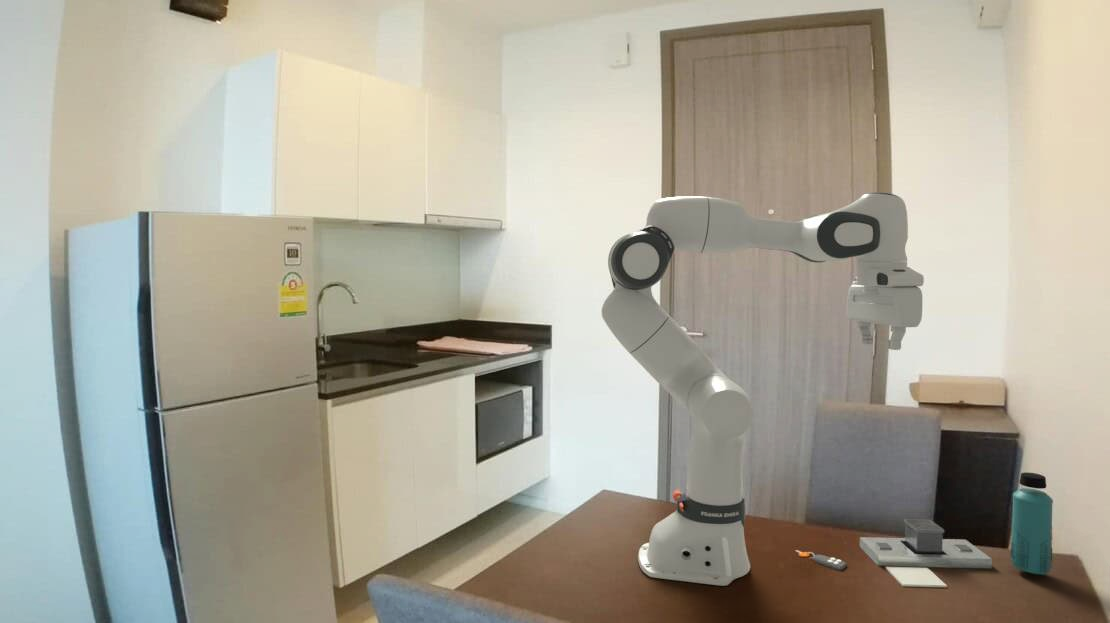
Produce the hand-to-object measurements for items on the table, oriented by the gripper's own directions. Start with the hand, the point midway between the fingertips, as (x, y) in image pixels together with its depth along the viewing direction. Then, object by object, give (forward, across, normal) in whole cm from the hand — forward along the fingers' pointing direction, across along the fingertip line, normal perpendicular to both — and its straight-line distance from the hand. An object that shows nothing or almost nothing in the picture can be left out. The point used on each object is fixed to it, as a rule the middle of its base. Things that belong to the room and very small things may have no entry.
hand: (880, 346), depth 123 cm
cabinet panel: (+45, -4, +12) cm, 47 cm away
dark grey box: (+45, -4, +12) cm, 47 cm away
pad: (+45, +5, +5) cm, 45 cm away
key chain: (+46, -5, -11) cm, 47 cm away
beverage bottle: (+45, +5, +28) cm, 54 cm away
